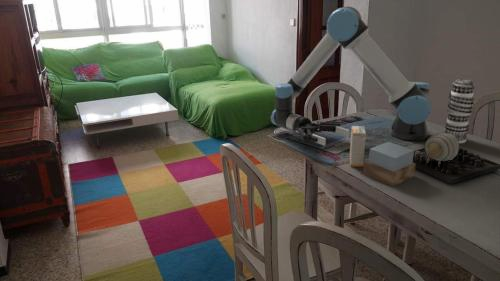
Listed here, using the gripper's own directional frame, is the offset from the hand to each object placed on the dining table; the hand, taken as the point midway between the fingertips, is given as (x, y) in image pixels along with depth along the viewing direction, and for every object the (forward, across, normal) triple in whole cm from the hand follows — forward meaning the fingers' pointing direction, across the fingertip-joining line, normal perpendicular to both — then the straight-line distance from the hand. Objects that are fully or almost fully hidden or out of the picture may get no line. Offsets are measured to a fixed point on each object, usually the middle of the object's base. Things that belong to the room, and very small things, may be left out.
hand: (337, 137), depth 146 cm
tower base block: (+24, 0, -7) cm, 25 cm away
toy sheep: (+30, -23, -7) cm, 38 cm away
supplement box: (+10, 0, -7) cm, 12 cm away
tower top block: (+24, 0, -2) cm, 24 cm away
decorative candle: (+22, -48, -7) cm, 53 cm away
